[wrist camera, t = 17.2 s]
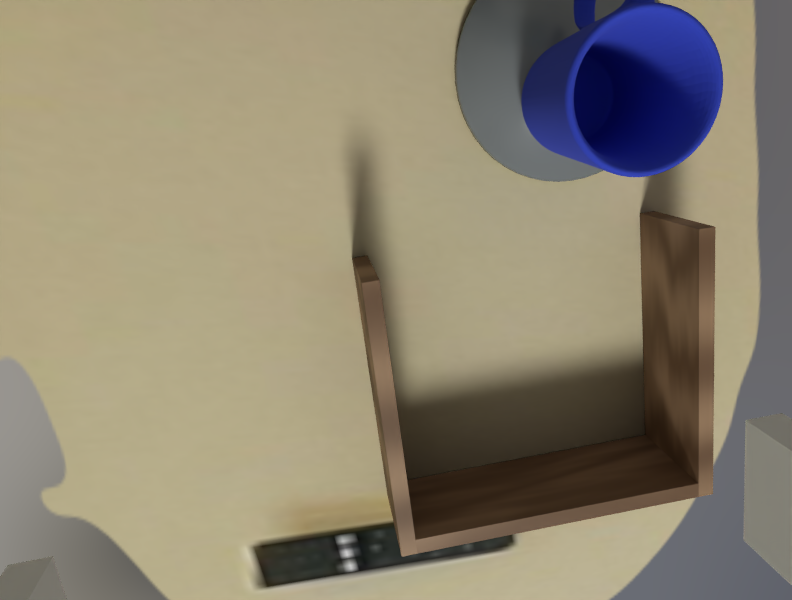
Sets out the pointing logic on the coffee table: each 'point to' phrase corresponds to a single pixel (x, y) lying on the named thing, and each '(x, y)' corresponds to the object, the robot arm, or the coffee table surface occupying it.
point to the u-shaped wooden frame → (584, 466)
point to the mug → (626, 89)
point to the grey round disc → (513, 79)
